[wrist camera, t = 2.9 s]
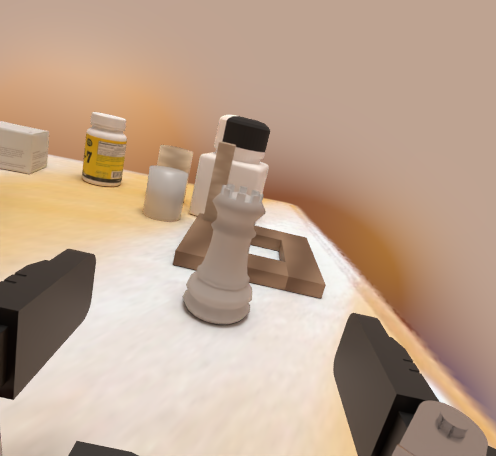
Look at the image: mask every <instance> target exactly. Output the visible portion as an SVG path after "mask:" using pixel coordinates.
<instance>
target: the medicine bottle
mask: <svg viewBox="0 0 496 456" xmlns="http://www.w3.org/2000/svg"><path fill="white" fill-rule="evenodd" d="M269 134H270V129H269V128H268V127H267V126H266V125H265V124H264V123H261V122H259V121H256V120H252V119H248V118H244V117H240V116H235V115H225V116H222V117H221V118H220V119H219V124H218V129H217V133H216V138H215V143H214V147H215V148H216V152H213V153H208V154H202V155H201V156H200V160H199V165H198V170H197V175H196V181H195V185H194V190H193V195H192V201H191V206H190V214H192V215H196V216H198V215H199V213H203V214H204V212H205V207H206V202H207V198H208V193H209V188H210V183H211V178H212V173H213V168H214V164H215V159H216V154H217V149H218V144H219V142H220V141H222V142H226V143H230V144H234V145H236V148H235V152H234V157H233V161H232V166H231V170H230V175H229V179H228V184H232V185H235V188H234V192H239V189H240V186H243V187H248V189H247V193H246V194H247V195H250V196H251V193H252V190H256V191H259V192H260V194H262V192H263V188H264V184H265V180H266V176H267V172H268V168H269V167H268V165H267V164H265V163H262V162H260V159H263V158H264V154H265V150H266V146H267V142H268V138H269Z"/></svg>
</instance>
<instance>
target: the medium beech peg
mask: <svg viewBox="0 0 496 456" xmlns="http://www.w3.org/2000/svg"><path fill="white" fill-rule="evenodd" d="M192 156H193V152H192V151H189V150H186V149H183V148H178V147H173V146H167V145H161V146H160V151H159V158H158V164H157V166H165V167H170V168H175V169H179V170H182V171H184V172H186V173H188V177H189V172H190V167H191V161H192ZM187 183H188V178H187ZM186 188H187V184H186ZM185 193H186V189H185ZM184 199H185V195H184ZM183 203H184V200H183Z"/></svg>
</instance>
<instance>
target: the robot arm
mask: <svg viewBox="0 0 496 456" xmlns="http://www.w3.org/2000/svg"><path fill="white" fill-rule="evenodd" d="M95 265H96V258H95V255H94V254H90V253H86V252H81V251H77V250H73V249H67V250H65V251H64V252H62V253H61V254H59V255H57V256H56V257H54V258H53V259H51V260H50V261H48V260H44V261H40V262H37V263H33V264H30V265H27V266H25V267H24V268H22V269H21V270H19V271H17V272H16V273H15V275H11V276H9V277H8V278H6V279H4V282H3V281H1V282H0V397H2V398H7V399H12V400H14V399H15V397H16V396H17V395H18V394H19V393H20V392H21V391H22V389H23V388H24V387H25V386H26V385H27V384H28V383H29V382H30V380H31V379H32V378H33V377H34V376H35V375H36V374H37V373H38V371H39V370H40V369H41V368H42V367H43V366H44V365H45V363H46V362H47V361H48V360H49V359H50V358H51V357H52V356H53V354H54V353H55V352H56V351H57V350H58V349H59V348H60V347H61V345H62V344H63V343H64V342H65V341H66V340H67V339H68V337H69V336H70V335H71V334H72V333H73V332H74V331H75V330H76V328H77V327H78V326H79V325H80V324H81V323H82V322H83V320H84V319H85V317H86V315H87V313H88V311H89V308H90V304H91V298H92V290H93V282H94V273H95ZM333 370H334V377H335V381H336V384H337V387H338V391H339V394H340V397H341V401H342V404H343V407H344V411H345V414H346V417H347V421H348V424H349V427H350V431H351V434H352V437H353V441H354V444H355V447H356V451H357V454H358V456H496V449H494V448H492V447H490V446H488V442H487V439H486V437H485V435H484V433H483V432H482V430H481V429H480V428H479V427H478V426H477V425H476V424H475V423H474V422H473V421H472V420H471V419H470V418H469V417H467V416H466V415H465V414H463V413H462V412H460V411H459V410H457V409H455V408H453V407H451V406H449V405H447V404H444V403H441V402H439V400H438V399H437V397H436V396H435V394H434V393H433V391H432V390H431V388H430V387H429V385H428V383H427V382H426V380H425V379H424V377H423V376H422V374H420V373H419V370H418V368H417V367H416V365H415V363H413V360H412V359H411V357H410V356H409V354H408V353H407V351H406V350H405V349H404V348H403V347H402V346H401V345H400V344H399V343H398V342H397V341H395V340H394V339H393V338H392V337H389V336H388V334H387V333H386V331H385V329H384V328H383V326H382V324H381V323H380V321H379V320H378V319H377V318H374V317H370V316H365V315H361V314H356V313H352V314H351V315H350V316H349V318H348V320H347V323H346V326H345V329H344V332H343V335H342V338H341V341H340V343H339V346H338V349H337V352H336V355H335V359H334V368H333ZM0 456H2V446H1V434H0ZM68 456H138V455H136V454H134V453H132V452H129V451H124V450H119V449H114V448H109V447H104V446H99V445H94V444H89V443H84V442H80V441H76V443H75V445H74V447H73V448H72V450H71V452H70V454H69V455H68Z"/></svg>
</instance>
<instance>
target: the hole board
mask: <svg viewBox="0 0 496 456" xmlns="http://www.w3.org/2000/svg"><path fill="white" fill-rule="evenodd" d="M235 148H236V145H234V144H230V143H226V142H222V141H220V142H219V144H218V149H217V154H216V159H215V164H214V168H213V173H212V178H211V183H210V188H209V193H208V198H207V202H206V207H205V212H204V214H203V213H199V215H198V216H197V218H196V219H195V221H194V223H193V224H192V226H191V227H190V229H189V230H188V232H187V234H186V235H185V237H184V238H183V240H182V241H181V243H180V244H179V246H178V248H177V249H176V251H175V256H174V261H173V265H176V266H181V267H185V268H190V269H194V270H197V268H198V266H199V265H201V264H202V262H203V261H204V259H205V256H206V254H207V251H208V248H209V246H210V243H211V239H212V235H213V228H212V226H211V224H212V223H213V222H214V221H215V220H216V219H217V210H216V208H215V205H214V203H213V199H214V198H215V197H216V196H217V195H218V194H220V193H221V189H222V185H226V186H227V184H228V179H229V175H230V170H231V166H232V161H233V157H234V152H235ZM254 230H255V232H256V236H255V237H254V238H252V239H251V243H250V244H251V245H255V246H259V247H264V248H268V249H272V250H276V251H279V257H280V261H278V260H274V259H270V258H265V257H261V256H257V255H252V254H248V263H247V275H248V276H249V278H250V279H249V282H251V283H255V284H260V285H264V286H269V287H273V288H277V289H282V290H286V291H291V292H295V293H299V294H304V295H308V296H313V297H317V298H322V294H323V291H324V288H325V282H324V280H323V278H322V275H321V273H320V270H319V268H318V265H317V263H316V260H315V258H314V255H313V253H312V250H311V248H310V245H309V243H308V241H307V238H305V237H301V236H297V235H292V234H288V233H284V232H280V231H275V230H271V229H267V228H262V227H258V226H254Z"/></svg>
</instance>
